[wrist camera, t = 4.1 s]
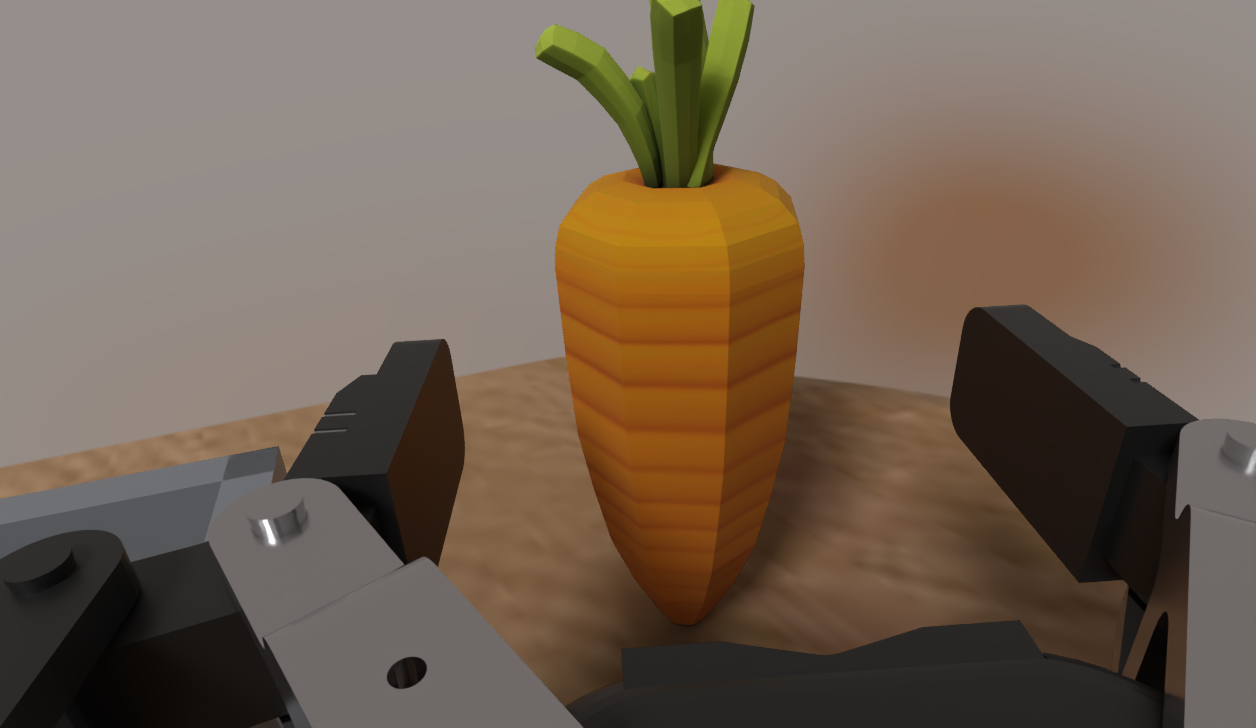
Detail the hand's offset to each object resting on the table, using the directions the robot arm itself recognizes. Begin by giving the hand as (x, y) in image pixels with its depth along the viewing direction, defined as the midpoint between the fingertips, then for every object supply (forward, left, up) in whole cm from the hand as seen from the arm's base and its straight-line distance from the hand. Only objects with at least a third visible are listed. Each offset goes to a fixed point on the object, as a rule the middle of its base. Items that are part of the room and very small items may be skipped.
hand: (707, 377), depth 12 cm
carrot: (-1, -4, -9) cm, 10 cm away
